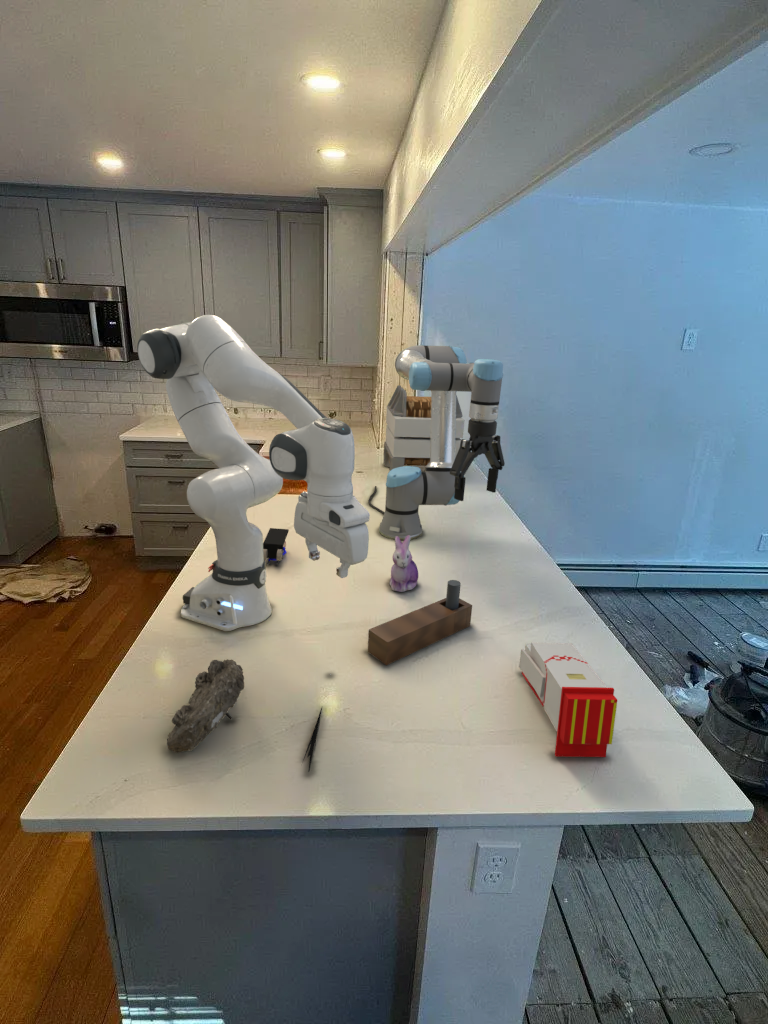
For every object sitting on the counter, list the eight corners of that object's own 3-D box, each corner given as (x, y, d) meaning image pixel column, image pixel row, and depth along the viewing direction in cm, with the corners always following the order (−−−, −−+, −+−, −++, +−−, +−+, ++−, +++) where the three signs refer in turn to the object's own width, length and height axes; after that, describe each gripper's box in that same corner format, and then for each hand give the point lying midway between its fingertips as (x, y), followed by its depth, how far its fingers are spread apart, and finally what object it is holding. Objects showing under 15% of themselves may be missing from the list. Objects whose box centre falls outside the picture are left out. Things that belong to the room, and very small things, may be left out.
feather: (331, 679, 122) (336, 673, 122) (307, 777, 96) (313, 769, 95) (324, 675, 122) (329, 669, 121) (298, 772, 95) (304, 764, 95)
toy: (567, 625, 127) (627, 695, 97) (561, 680, 130) (618, 764, 100) (513, 624, 126) (557, 694, 97) (508, 679, 129) (550, 763, 100)
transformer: (382, 463, 289) (386, 382, 275) (445, 464, 293) (451, 384, 279) (390, 482, 257) (394, 392, 243) (460, 483, 261) (468, 394, 247)
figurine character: (283, 572, 170) (290, 547, 184) (282, 550, 167) (289, 526, 180) (260, 571, 170) (269, 546, 183) (259, 549, 167) (268, 526, 180)
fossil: (192, 660, 117) (244, 628, 112) (224, 691, 120) (276, 661, 115) (142, 746, 98) (202, 712, 93) (182, 779, 101) (242, 748, 96)
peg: (441, 624, 143) (444, 582, 139) (449, 620, 145) (453, 578, 141) (450, 630, 141) (454, 586, 137) (459, 626, 143) (463, 583, 139)
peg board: (386, 665, 126) (387, 642, 124) (367, 651, 131) (368, 629, 129) (470, 626, 143) (472, 605, 141) (451, 615, 148) (453, 594, 146)
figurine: (397, 596, 156) (400, 546, 151) (380, 580, 165) (382, 532, 160) (426, 589, 160) (430, 541, 155) (408, 575, 169) (411, 528, 164)
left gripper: (286, 491, 115) (286, 553, 120) (349, 523, 101) (346, 591, 106) (312, 486, 119) (310, 546, 124) (375, 516, 105) (371, 582, 110)
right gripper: (462, 426, 140) (454, 507, 147) (523, 417, 156) (513, 491, 163) (440, 421, 146) (434, 499, 153) (501, 413, 161) (493, 484, 168)
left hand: (327, 567), depth 115 cm, fingers open, 8 cm apart
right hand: (475, 495), depth 158 cm, fingers open, 13 cm apart
